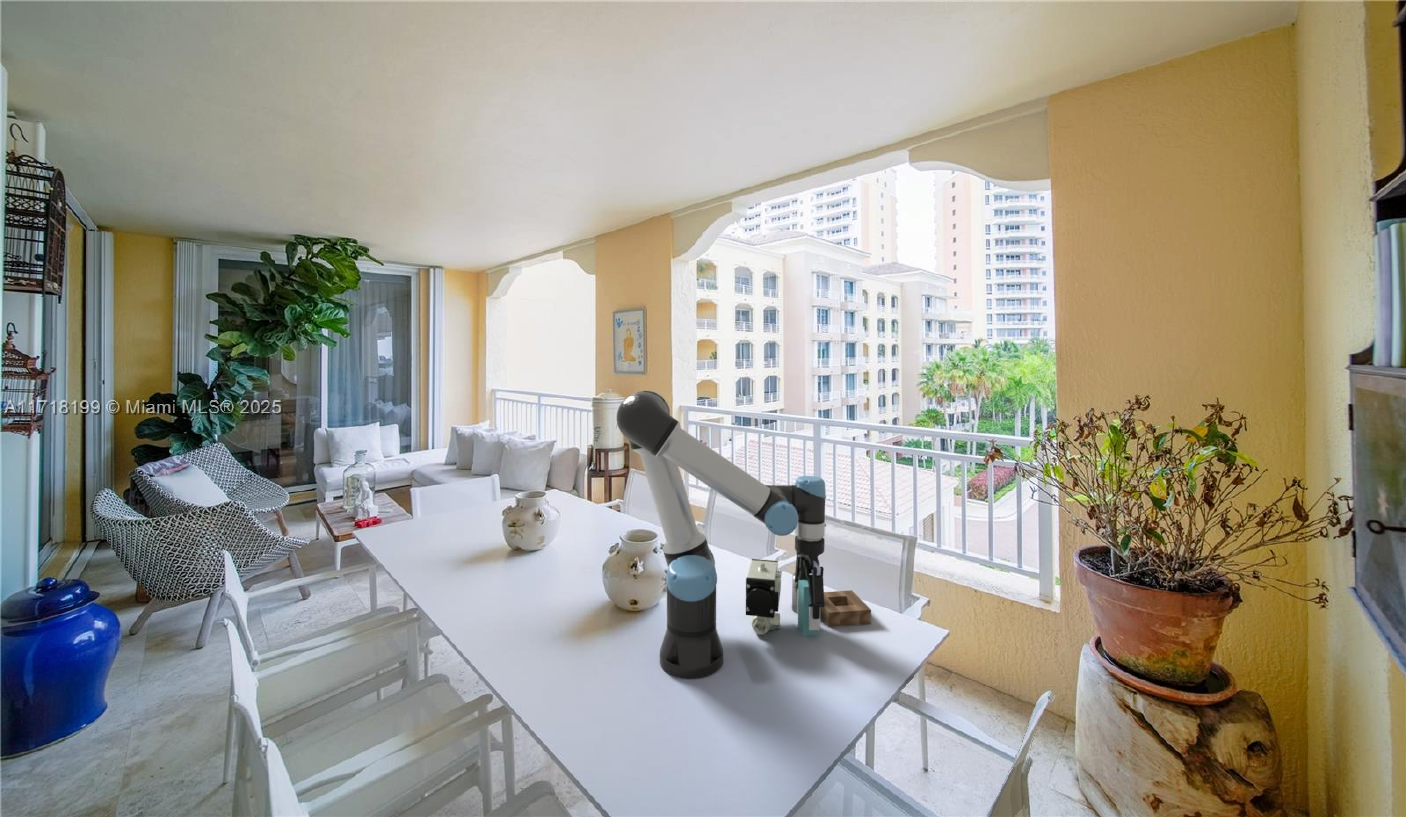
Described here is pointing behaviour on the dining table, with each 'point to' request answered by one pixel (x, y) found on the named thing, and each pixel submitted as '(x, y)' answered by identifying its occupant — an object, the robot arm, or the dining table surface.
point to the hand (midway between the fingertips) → (808, 620)
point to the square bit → (804, 608)
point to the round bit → (794, 594)
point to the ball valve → (763, 595)
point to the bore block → (844, 609)
